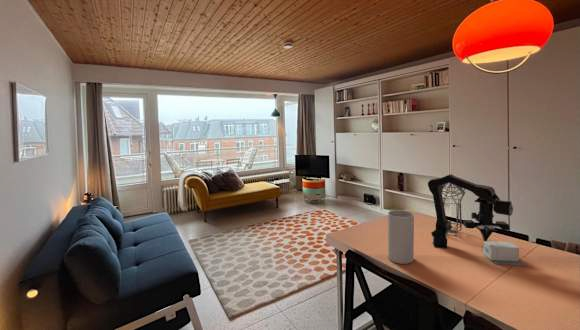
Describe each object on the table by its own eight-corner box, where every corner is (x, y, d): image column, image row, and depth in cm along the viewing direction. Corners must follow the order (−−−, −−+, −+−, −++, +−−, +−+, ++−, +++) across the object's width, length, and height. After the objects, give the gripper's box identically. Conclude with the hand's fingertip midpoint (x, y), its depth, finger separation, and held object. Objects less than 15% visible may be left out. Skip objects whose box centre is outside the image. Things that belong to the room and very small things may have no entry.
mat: (495, 264, 135) (495, 262, 135) (486, 254, 146) (486, 253, 146) (526, 266, 132) (526, 265, 131) (515, 256, 142) (515, 255, 142)
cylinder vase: (402, 267, 137) (402, 218, 134) (383, 257, 148) (382, 212, 145) (418, 260, 143) (419, 214, 140) (399, 251, 154) (399, 208, 151)
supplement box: (490, 260, 138) (519, 261, 135) (491, 246, 137) (519, 247, 134) (483, 254, 145) (510, 255, 142) (483, 240, 144) (510, 241, 142)
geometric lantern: (463, 231, 179) (465, 179, 174) (463, 240, 166) (465, 184, 161) (436, 227, 188) (437, 177, 183) (434, 235, 175) (435, 182, 169)
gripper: (500, 207, 143) (499, 236, 145) (460, 206, 149) (459, 234, 151) (510, 214, 133) (509, 244, 135) (466, 212, 138) (466, 241, 140)
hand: (485, 240), depth 140 cm, fingers closed
